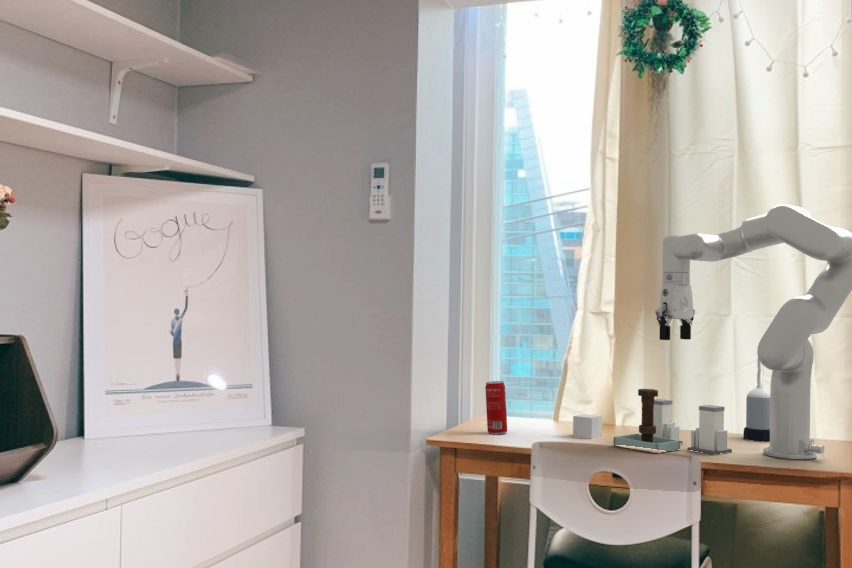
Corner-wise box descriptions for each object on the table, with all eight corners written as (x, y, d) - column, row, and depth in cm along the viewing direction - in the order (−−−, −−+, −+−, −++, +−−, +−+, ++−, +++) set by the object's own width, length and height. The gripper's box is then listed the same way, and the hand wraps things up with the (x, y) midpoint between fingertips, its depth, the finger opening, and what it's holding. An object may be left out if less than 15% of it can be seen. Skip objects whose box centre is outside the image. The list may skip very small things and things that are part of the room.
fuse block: (731, 452, 228) (732, 406, 228) (714, 455, 223) (714, 408, 223) (658, 439, 246) (658, 398, 246) (640, 442, 241) (640, 399, 241)
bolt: (657, 448, 228) (658, 391, 229) (637, 447, 229) (638, 390, 230) (656, 445, 234) (657, 389, 234) (637, 444, 235) (638, 388, 235)
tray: (680, 450, 230) (680, 440, 230) (657, 454, 223) (657, 444, 223) (636, 442, 240) (636, 433, 240) (613, 446, 234) (613, 436, 234)
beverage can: (510, 434, 252) (511, 382, 252) (490, 435, 250) (491, 382, 250) (501, 431, 257) (502, 380, 258) (481, 432, 255) (482, 380, 255)
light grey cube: (601, 436, 251) (602, 416, 251) (591, 439, 246) (592, 418, 246) (583, 434, 254) (583, 413, 254) (572, 436, 250) (573, 415, 250)
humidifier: (760, 436, 255) (761, 350, 256) (780, 441, 247) (781, 352, 248) (737, 437, 253) (738, 351, 253) (756, 442, 245) (757, 352, 245)
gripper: (668, 278, 239) (668, 340, 238) (705, 279, 249) (704, 339, 249) (646, 278, 244) (645, 339, 244) (682, 279, 255) (681, 338, 255)
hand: (675, 339), depth 247 cm, fingers open, 9 cm apart
